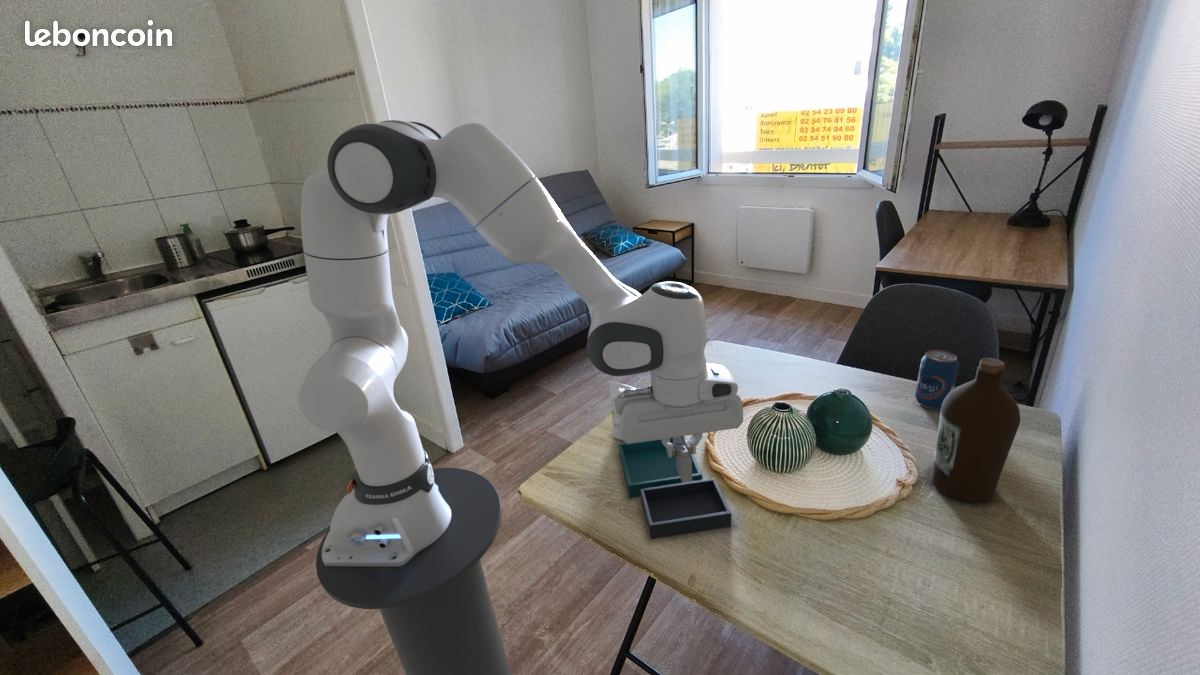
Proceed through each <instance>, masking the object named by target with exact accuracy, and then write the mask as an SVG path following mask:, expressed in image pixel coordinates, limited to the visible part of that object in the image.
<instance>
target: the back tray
mask: <svg viewBox="0 0 1200 675" xmlns="http://www.w3.org/2000/svg"><path fill="white" fill-rule="evenodd" d="M684 440H685V441H688V440H687V437H686V436H684ZM670 443H673V438H670ZM618 453H619V459H620V463H621V468H622V472H623V477H624V481H625V485H626V486H625V487H626V490H627V495H628V498H629V499H636V498H641V496H640V489H644V488H651V487H658V486H665V485H671V484H678V483H683V482H682V481H681V478H680V476H679V473H678V471H677V468H676V457H670V458H669V457H668V454H667V448H666V447H665V446H664V445H663V444H662V442H661V439H659V440H652V441H645V442H638V443H631V444H626V443H625V442H624V443H623V442H622V443H618ZM690 457H691V460H692V481H698V480H703V473H702V471H701V469H700V466H699V465H698V462H697V459H696V458H695V454H690ZM692 481H691V482H692Z"/></svg>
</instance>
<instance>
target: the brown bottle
mask: <svg viewBox="0 0 1200 675" xmlns="http://www.w3.org/2000/svg"><path fill="white" fill-rule="evenodd" d="M1005 366H1006V364H1005V362H1004V361H1002V360H1000V359H998V358H992V357H983V358H981V359H980V360H979V365H978V366H977V369H976V373H975V378H973V379H972V380H970V381H967V382H965V383H962V384H961V385H959V386H956V387H954V389H953V390H952V391H950V392H949V393H948V395H947V396H946V398H945V399H944V401H943V403H942V406H941V409H940V413H939V418H938V427H937V434H936V439H935V445H934V446H935V447H934V453H933V460H932V465H931V471H930V481H931V483H932V484H933V486H934V487H935V488H936V489H937V490H938V491H940V492H941V493H942V494H944V495H945V496H948V497H950V498H953V499H955V500H957V501H961V502H965V503H973V504H975V503H976V504H977V503H984V502H988V501H989V500H991V499H992V498H993V497H994V495H995V493H996V489H997V485H998V484H999V481H1000V479H1001V475H1002V472H1003V469H1004V466H1005V464H1006V461H1007V458H1008V455H1009V453H1010V450H1011V448H1012V445H1013V442H1014V439H1015V438H1016V435H1017V432H1018V430H1019V428H1020V424H1021V413H1020V412H1021V411H1020V408H1019V405H1018V403H1017V401H1016V400H1015V399H1014V397H1012V395H1011V394H1010V393H1009V392H1008V391H1007V390H1006V389H1005V388H1004V386H1002V384H1001V383H1002V379H1003V376H1004V374H1005V372H1004V369H1005Z"/></svg>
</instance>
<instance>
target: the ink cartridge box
mask: <svg viewBox="0 0 1200 675" xmlns="http://www.w3.org/2000/svg"><path fill="white" fill-rule="evenodd" d="M608 383H609V385H608V386H609V392H608V393H609V394H608V395H609V403H610V413H611V422H612V433H613V437H614V438H616V439H618V440H621V441H623V440H622V439H621V436H620V431H619V414H618V413H617V412H616V408H615V399H616V397H617V396H618V395H619V394H621V393H623V391H624V390H627V389H638V388H637V387H634V386H631V385H628V384H625V383H620V382H617V381H614V380H611V379H610V380H609V382H608ZM622 396H624V395H622Z"/></svg>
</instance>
